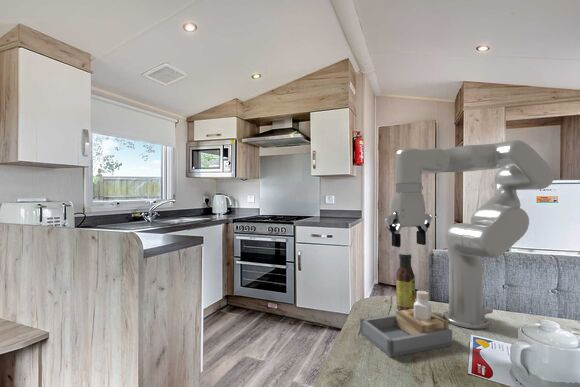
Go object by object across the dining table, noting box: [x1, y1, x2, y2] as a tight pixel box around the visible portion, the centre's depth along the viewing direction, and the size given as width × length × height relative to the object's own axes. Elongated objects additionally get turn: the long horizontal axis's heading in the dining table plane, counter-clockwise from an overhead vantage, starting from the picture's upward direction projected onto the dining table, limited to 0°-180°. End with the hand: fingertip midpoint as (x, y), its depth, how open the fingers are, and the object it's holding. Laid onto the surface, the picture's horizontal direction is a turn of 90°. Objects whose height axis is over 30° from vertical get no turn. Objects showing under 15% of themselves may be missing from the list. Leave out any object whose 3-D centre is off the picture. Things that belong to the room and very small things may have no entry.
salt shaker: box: [414, 290, 432, 321], centre depth 88 cm, size 4×4×10 cm
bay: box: [359, 313, 453, 358], centre depth 86 cm, size 20×14×4 cm
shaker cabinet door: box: [395, 309, 450, 335], centre depth 88 cm, size 9×11×4 cm
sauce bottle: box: [395, 252, 416, 311], centre depth 108 cm, size 6×6×20 cm
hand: (408, 245), depth 92 cm, fingers open, 9 cm apart
